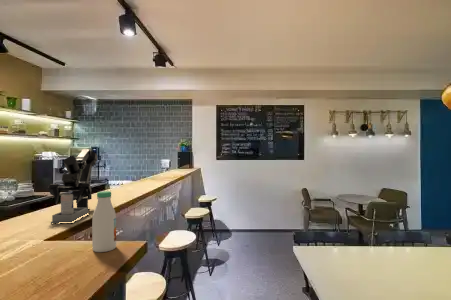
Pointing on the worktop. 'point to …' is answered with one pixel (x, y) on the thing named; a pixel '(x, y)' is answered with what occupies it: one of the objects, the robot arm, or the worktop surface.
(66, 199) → the energy drink
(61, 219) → the drink carrier
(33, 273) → the worktop surface
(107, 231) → the milk bottle
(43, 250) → the worktop surface
